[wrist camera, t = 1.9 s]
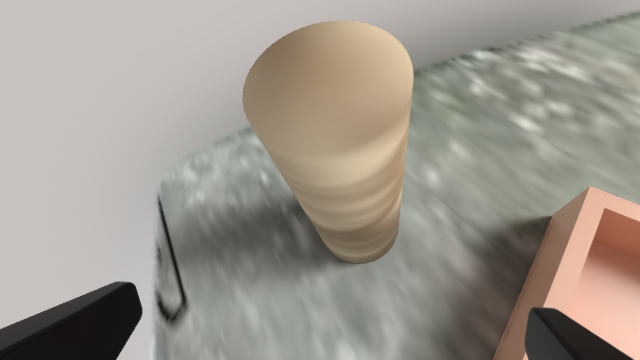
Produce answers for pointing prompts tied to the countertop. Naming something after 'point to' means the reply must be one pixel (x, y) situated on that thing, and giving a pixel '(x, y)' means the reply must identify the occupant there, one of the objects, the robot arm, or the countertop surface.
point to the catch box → (585, 274)
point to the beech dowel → (337, 129)
